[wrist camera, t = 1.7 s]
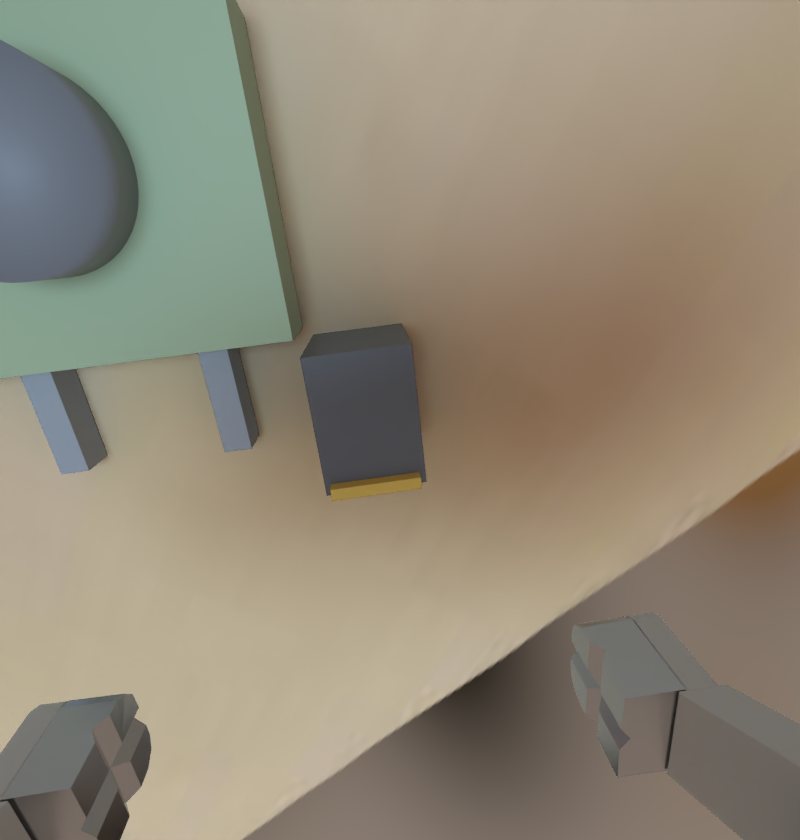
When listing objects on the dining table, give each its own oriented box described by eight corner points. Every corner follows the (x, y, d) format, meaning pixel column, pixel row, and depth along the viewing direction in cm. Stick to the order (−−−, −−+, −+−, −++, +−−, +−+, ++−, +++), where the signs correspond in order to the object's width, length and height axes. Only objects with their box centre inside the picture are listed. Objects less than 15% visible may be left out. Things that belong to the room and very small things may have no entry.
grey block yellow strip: (401, 323, 27) (413, 346, 20) (414, 436, 29) (428, 487, 23) (313, 334, 26) (298, 361, 20) (333, 447, 29) (326, 501, 23)
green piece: (244, 16, 21) (191, -86, 15) (321, 426, 28) (309, 481, 22) (-168, 60, 20) (-416, -28, 14) (17, 467, 28) (-90, 536, 21)
